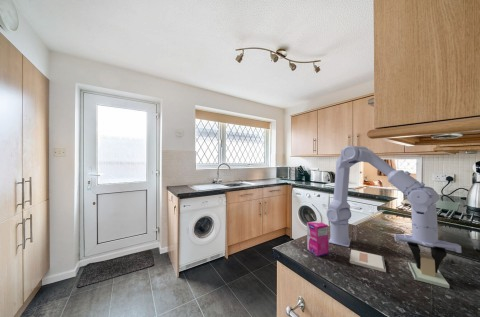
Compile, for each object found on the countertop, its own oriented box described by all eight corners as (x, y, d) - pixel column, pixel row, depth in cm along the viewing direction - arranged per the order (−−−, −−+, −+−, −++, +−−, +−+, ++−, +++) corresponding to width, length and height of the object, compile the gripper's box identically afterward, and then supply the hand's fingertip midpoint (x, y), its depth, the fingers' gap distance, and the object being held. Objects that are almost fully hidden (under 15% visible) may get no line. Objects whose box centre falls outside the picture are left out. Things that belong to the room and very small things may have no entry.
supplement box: (306, 250, 73) (306, 222, 74) (318, 248, 75) (317, 220, 76) (317, 257, 68) (316, 226, 68) (329, 254, 70) (328, 224, 70)
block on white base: (408, 264, 62) (407, 247, 63) (437, 271, 58) (436, 252, 59) (415, 279, 54) (414, 259, 54) (449, 288, 50) (448, 266, 50)
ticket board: (351, 251, 72) (351, 249, 72) (383, 259, 66) (383, 256, 66) (349, 263, 64) (349, 259, 64) (386, 272, 58) (385, 268, 58)
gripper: (395, 224, 58) (397, 267, 57) (465, 234, 50) (468, 284, 49) (393, 219, 64) (394, 258, 63) (454, 227, 55) (457, 272, 55)
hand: (426, 269), depth 56 cm, fingers closed on block on white base, 3 cm apart
